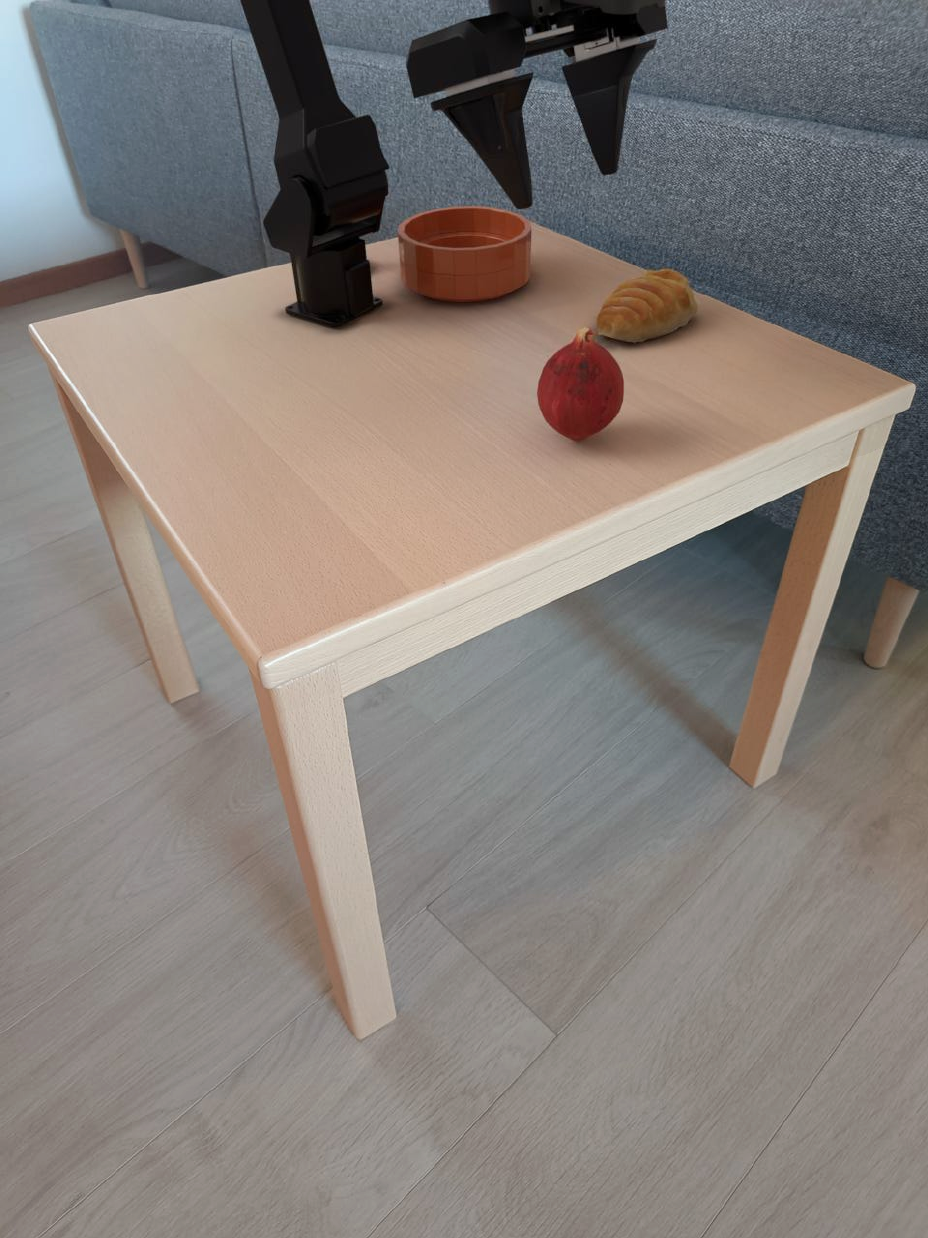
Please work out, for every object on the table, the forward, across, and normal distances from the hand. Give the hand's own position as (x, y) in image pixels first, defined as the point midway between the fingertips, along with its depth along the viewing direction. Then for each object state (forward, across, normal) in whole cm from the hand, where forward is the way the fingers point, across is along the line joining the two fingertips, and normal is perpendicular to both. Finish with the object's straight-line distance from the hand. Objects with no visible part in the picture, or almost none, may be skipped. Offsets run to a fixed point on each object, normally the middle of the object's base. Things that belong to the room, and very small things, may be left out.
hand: (569, 190), depth 58 cm
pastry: (+13, +14, +6) cm, 21 cm away
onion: (+16, -5, -1) cm, 16 cm away
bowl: (+8, +12, +24) cm, 28 cm away
